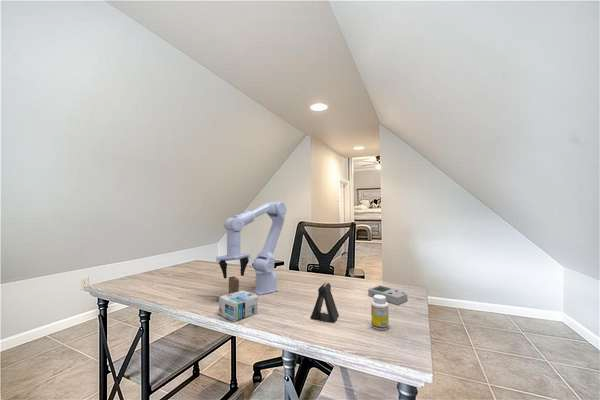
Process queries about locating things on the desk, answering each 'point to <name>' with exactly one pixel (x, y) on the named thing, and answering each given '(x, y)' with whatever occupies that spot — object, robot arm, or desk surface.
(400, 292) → the handheld gaming device
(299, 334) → the desk surface
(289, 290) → the desk surface
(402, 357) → the desk surface
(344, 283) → the desk surface
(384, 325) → the supplement bottle
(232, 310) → the light bulb box
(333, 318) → the black triangular stand
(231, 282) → the brown rectangular block
